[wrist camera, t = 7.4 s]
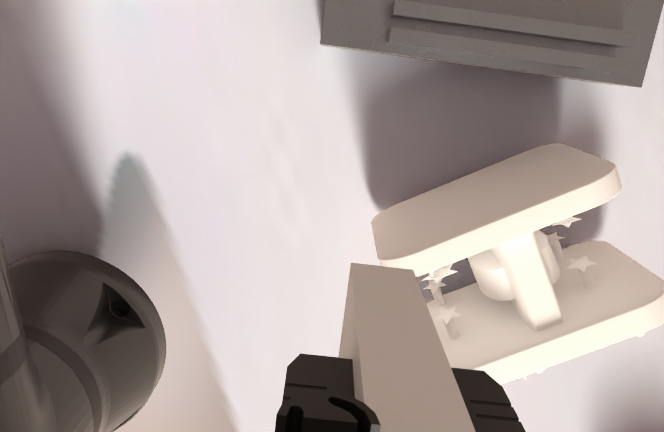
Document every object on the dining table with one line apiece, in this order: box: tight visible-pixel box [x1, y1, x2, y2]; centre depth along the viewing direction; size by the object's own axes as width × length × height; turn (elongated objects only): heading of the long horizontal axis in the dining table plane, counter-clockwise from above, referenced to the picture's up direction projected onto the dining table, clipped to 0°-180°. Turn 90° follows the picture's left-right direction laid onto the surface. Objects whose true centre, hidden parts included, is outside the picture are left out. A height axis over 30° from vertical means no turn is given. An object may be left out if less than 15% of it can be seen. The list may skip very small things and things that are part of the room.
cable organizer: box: [371, 143, 664, 385], centre depth 38 cm, size 15×11×12 cm
